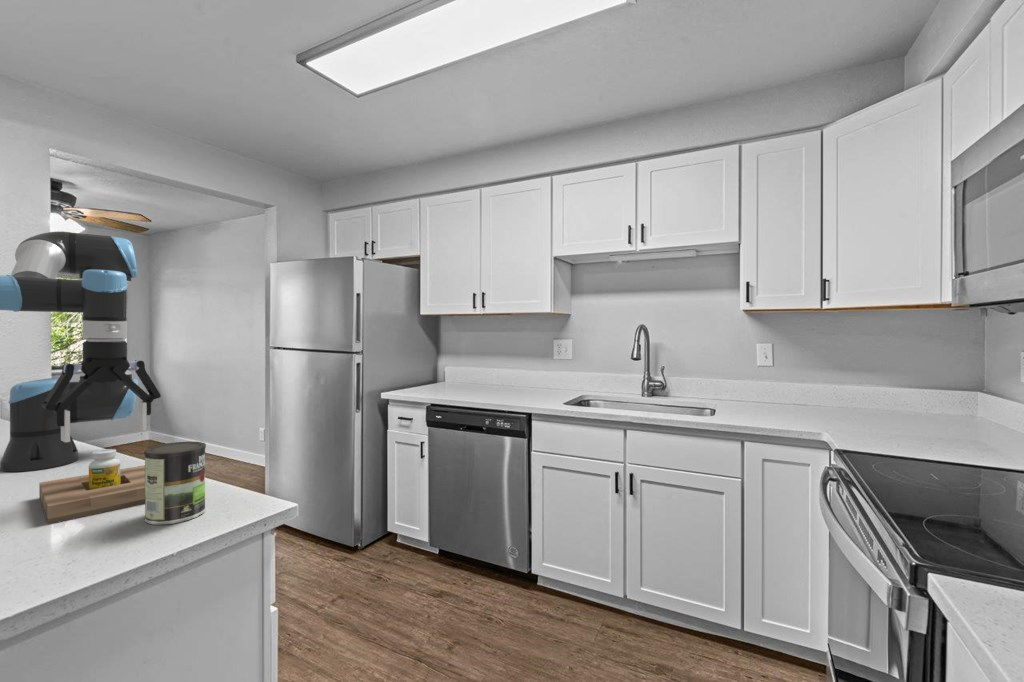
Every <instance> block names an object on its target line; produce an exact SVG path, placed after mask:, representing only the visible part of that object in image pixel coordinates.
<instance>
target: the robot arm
mask: <svg viewBox="0 0 1024 682" xmlns="http://www.w3.org/2000/svg"><path fill="white" fill-rule="evenodd" d="M133 246H134V245H133V243H132V242H131V241H130V240H129V239H127V238H123V237H117V236H112V235H102V234H101V235H99V234H89V233H78V232H70V231H63V230H62V231H50V232H48V231H47V232H43V233H39V234H37V235H33V236H30V237H28V238H26V239H25V240H23V241H21V242H20V243H19V244H18V246H17V248H16V249H15V253H14V258H15V260H16V262H15V265H14V267H13V269H12V271H11V272H10V273H11V274H6V275H1V274H0V311H10V312H11V311H12V312H15V313H16V312H37V313H38V312H40V313H41V312H46V313H48V312H49V313H77V314H78V313H82V334H81V335H82V338H83V339H84V340H85V341H83V342H82V362H81V364H76V363H75V364H74V363H67V362H66V363H64V364H62V370H61V374H60V376H59V377H50V378H42V379H41V378H40V379H35V380H29V381H25V382H20V383H16V384H14V385H13V386H12V387H11V388H10V392H9V401H8V404H9V441H8V443H7V446H6V448H5V449H4V453H3V455H2V458H1V459H0V470H1V471H4V472H29V471H30V472H31V471H38V470H44V469H51V468H55V467H60V466H65V465H68V464H72V463H73V462H76V461H78V459H79V451H78V448H77V445H76V443H75V442H74V439H73V437H72V434H71V424H76V423H85V422H86V423H87V422H89V423H90V422H99V421H100V422H101V421H114V420H120V419H126V418H129V417H131V416H132V415H133V413H134V411H135V406H136V400H137V397H138V398H139V399H140V401H137V430H139V431H143V432H145V431H147V424H148V423H147V416H150V415H151V414H152V402H154V400H156V399H160V398H161V393H160V391H159V390H158V388H157V386H156V385H155V384H154V381H153V380H152V378H151V377H150V375H149V374H148V372H147V371H146V364H145V362H144V361H143V360H140V359H136V360H134V361H129V360H128V342H127V341H126V339H127V338H128V287H129V285H131V284H132V279H136V278H137V277H138V269H137V268H138V267H137V260H136V256H135V254H136V253H135V250H134V247H133ZM58 273H63V274H64V273H65V274H71V275H72V274H74V275H79V279H66V278H58V275H59V274H58ZM130 368H131V370H132V371H134V372H135V374H136V376H137V377H138V379H139V380H140V381H141V384H142V385H143V386H144V388H145V390H146V391H144V390H143V389H142V388H141V387H140V386H139V380H138V379H137V378H133V376H132V375H133V374H132V372H131V371H130V370H129V369H130ZM78 371H81V372H82V373H81V374H79V380H78V381H71V380H72V378H73V377H74V375H76V374H77V373H78Z"/></svg>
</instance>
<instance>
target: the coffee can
mask: <svg viewBox="0 0 1024 682" xmlns="http://www.w3.org/2000/svg"><path fill="white" fill-rule="evenodd" d="M143 455H144V465H145V504H144V505H145V507H144V508H145V509H144V511H145V516H144V517H145V518H144V521H145V523H146V524H149V525H153V526H162V525H172V524H178V523H183V522H186V521H190V520H193V519H195V518H198V517H199V515H200V516H202V515H203V514H204V513H206V510H207V509H206V443H205V442H202V441H175V442H169V443H168V442H167V443H163V444H158V445H157V444H156V445H154V446H150V447H148V448H146V449H144V450H143ZM201 514H202V515H201Z"/></svg>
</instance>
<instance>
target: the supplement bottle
mask: <svg viewBox="0 0 1024 682" xmlns="http://www.w3.org/2000/svg"><path fill="white" fill-rule="evenodd" d="M116 456H117V449H115V448H107V449H106V448H105V449H99V450H96V451H93V452H92V459H93V461H91V462H90V463H89V464H88V475H89V490H93V489H98V488H104V487H109V486H115V485H120V484H121V478H120V469H121V460H120V459H119V458H116Z"/></svg>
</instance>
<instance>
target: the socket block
mask: <svg viewBox="0 0 1024 682" xmlns="http://www.w3.org/2000/svg"><path fill="white" fill-rule="evenodd" d="M120 478H121V484H120V485H115V486H109V487H104V488H98V489H93V490H89V474H85V475H83V474H82V475H78V476H72V477H64V478H60V479H55V480H54V479H53V480H47V481H46V480H45V481H43V482H39V484H38V486H39V494H38V495H39V500H40V504H41V507H42V510H43V513H45V514H44V517H45V516H46V517H45V519H46V522H47V524H48V525H51V524H57V523H60V522H59V521H61V522H64V521H65V520H66V521H69V519H70V520H73V518H75V519H79V518H78V517H80V518H83V517H82V516H84V517H88V516H87V515H89V516H93V514H94V515H97V514H103V513H107V511H108V512H112V511H116V510H121V509H126V508H131V507H136V506H139V505H145V464H144V465H139V466H131V467H126V468H120Z"/></svg>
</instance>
